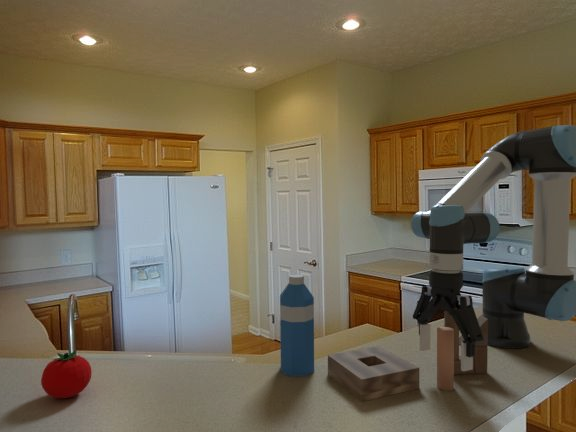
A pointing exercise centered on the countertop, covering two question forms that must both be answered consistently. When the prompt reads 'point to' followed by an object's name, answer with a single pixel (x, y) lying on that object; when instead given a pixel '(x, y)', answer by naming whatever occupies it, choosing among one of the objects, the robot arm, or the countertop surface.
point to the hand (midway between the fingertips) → (444, 359)
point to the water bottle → (297, 328)
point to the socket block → (373, 372)
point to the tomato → (66, 375)
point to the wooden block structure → (480, 346)
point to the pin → (445, 358)
